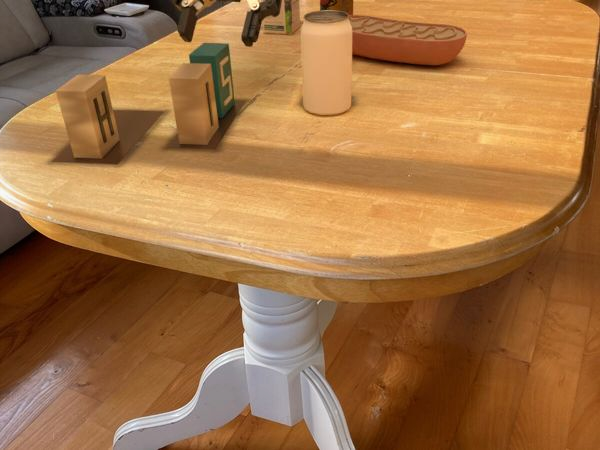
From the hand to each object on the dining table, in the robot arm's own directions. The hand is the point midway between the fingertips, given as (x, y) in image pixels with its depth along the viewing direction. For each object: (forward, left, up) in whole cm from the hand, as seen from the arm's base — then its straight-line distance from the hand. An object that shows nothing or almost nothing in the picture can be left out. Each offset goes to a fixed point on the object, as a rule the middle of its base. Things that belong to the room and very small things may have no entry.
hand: (215, 41), depth 73 cm
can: (+14, +3, -10) cm, 17 cm away
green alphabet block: (0, -2, -8) cm, 9 cm away
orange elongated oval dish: (+22, +24, -10) cm, 34 cm away
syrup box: (+1, +40, -10) cm, 41 cm away
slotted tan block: (0, -5, -10) cm, 11 cm away
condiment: (+12, +40, -10) cm, 43 cm away
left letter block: (-11, -10, -10) cm, 18 cm away
